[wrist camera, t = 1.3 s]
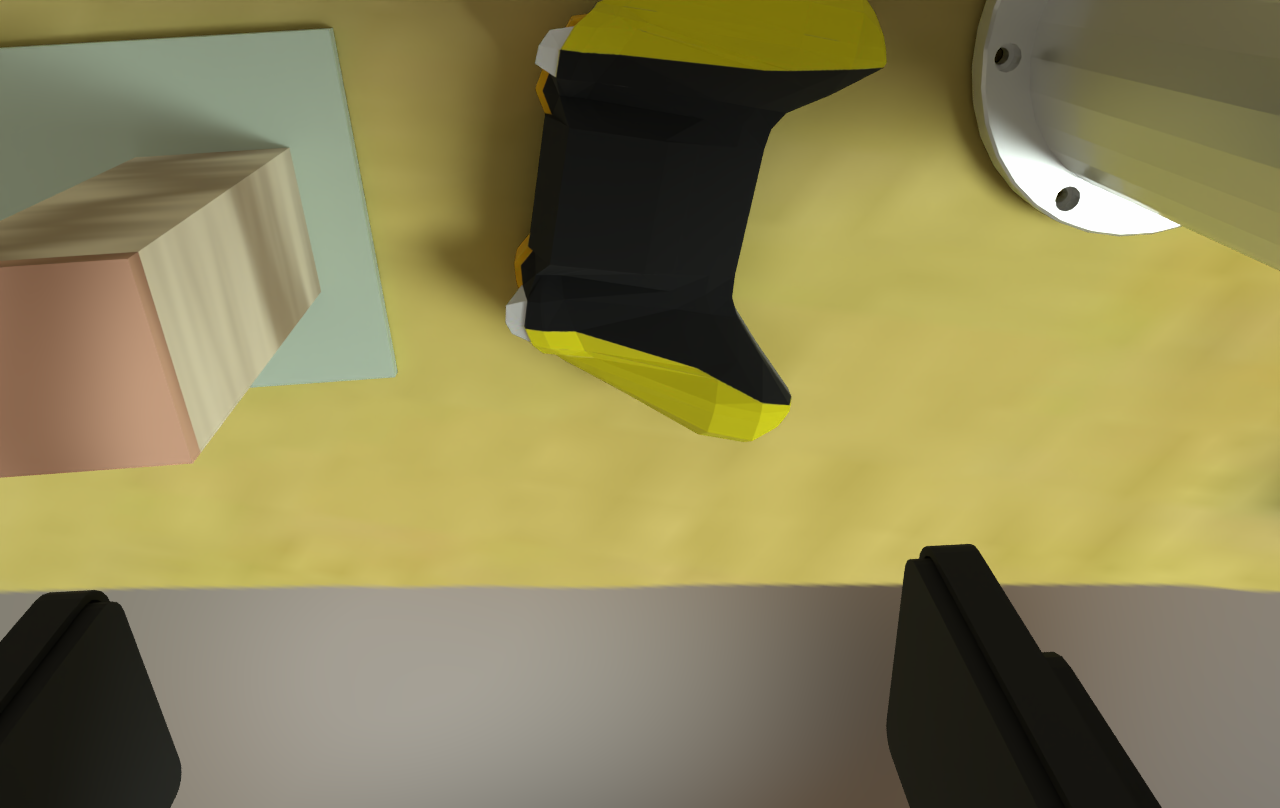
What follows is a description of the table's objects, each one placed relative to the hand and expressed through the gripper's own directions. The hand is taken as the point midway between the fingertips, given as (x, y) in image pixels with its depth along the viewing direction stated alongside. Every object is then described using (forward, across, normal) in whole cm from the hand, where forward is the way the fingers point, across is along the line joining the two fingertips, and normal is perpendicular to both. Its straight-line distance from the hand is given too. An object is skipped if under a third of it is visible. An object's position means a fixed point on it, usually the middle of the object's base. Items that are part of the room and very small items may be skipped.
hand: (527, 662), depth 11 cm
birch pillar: (+22, +12, 0) cm, 25 cm away
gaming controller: (+24, -3, 0) cm, 24 cm away
